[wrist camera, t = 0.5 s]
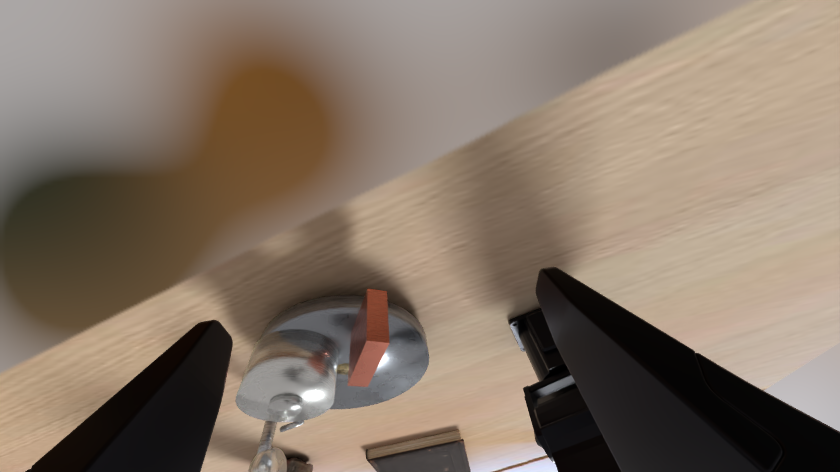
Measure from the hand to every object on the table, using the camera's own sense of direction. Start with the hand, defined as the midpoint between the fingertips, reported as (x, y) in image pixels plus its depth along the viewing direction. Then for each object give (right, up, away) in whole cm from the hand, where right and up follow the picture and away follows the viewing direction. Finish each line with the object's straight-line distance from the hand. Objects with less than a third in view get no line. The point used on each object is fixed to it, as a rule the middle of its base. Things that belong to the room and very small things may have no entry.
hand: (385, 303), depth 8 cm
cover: (-10, -8, +18) cm, 22 cm away
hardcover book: (+2, -40, +48) cm, 62 cm away
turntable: (-6, -9, +21) cm, 24 cm away
